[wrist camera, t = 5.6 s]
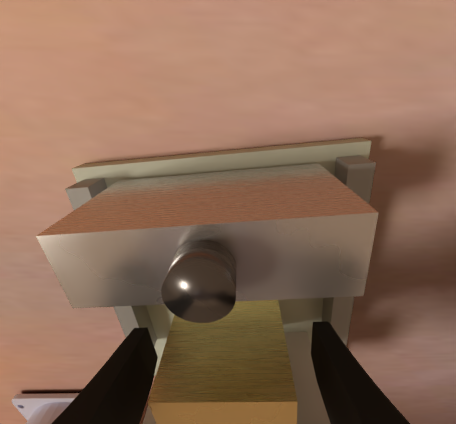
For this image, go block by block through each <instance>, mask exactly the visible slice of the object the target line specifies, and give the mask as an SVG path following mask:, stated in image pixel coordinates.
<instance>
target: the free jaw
mask: <svg viewBox="0 0 456 424" xmlns="http://www.w3.org/2000/svg"><path fill="white" fill-rule="evenodd" d="M378 214H379V212H378V211H376V210H375V209H374V208H373V207H371V206H370V205H369V204H368V203H367V202H365V201H364V200H363V199H362V198H360V197H359V196H358V195H357V194H355V193H354V192H353V191H352V190H351V189H349V188H348V187H347V186H346V185H344V184H343V183H342V182H341V181H340V180H338V179H337V178H336V177H335V176H333V175H332V174H331V173H330V172H328V171H327V170H326V169H325V168H324V167H322V166H321V165H320V164H319V163H316V164H305V165H293V166H282V167H270V168H259V169H247V170H236V171H224V172H213V173H201V174H190V175H178V176H166V177H155V178H143V179H132V180H120V181H117V182H116V183H114V184H113V185H111V186H110V187H108V188H107V189H105V190H104V191H102V192H101V193H99V194H98V195H96V196H95V197H93V198H92V199H90V200H89V201H87V202H86V203H85V204H83V205H82V206H80V207H79V208H77V209H76V210H74V211H73V212H71V213H70V214H68V215H67V216H65V217H64V218H62V219H61V220H59V221H58V222H56V223H55V224H53V225H52V226H50V227H49V228H47V229H46V230H44V231H43V232H41V233H40V234H38V235H37V236H36V237H37V239H38V241H39V243H40V245H41V247H42V249H43V251H44V253H45V255H46V257H47V259H48V261H49V263H50V265H51V267H52V269H53V271H54V272H55V274H56V276H57V278H58V280H59V282H60V284H61V286H62V288H63V290H64V292H65V294H66V296H67V298H68V300H69V302H70V304H71V306H72V308H91V307H115V306H139V305H162V304H165V305H166V307H167V308H168V309H169V310H170V311H171V312H172V313H173V314H174V315H176V316H177V317H179V318H181V319H184V320H186V321H190V322H194V323H209V322H214V321H217V320H220V319H222V318H223V317H225V316H226V315H228V314H229V313H230V312H231V310H232V309H233V307H234V305H235V301H258V300H282V299H305V298H329V297H353V296H364V291H365V285H366V280H367V274H368V269H369V263H370V258H371V252H372V247H373V241H374V236H375V230H376V225H377V219H378Z"/></svg>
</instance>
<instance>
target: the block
mask: <svg viewBox="0 0 456 424" xmlns="http://www.w3.org/2000/svg"><path fill="white" fill-rule="evenodd" d="M297 404H298V401H297V396H296V391H295V386H294V380H293V375H292V370H291V365H290V360H289V354H288V349H287V344H286V339H285V334H284V328H283V323H282V318H281V313H280V307H279V302H278V300H258V301H235V305H234V307H233V309H232V310H231V312H230V313H229V314H228V315H226V316H225V317H223V318H222V319H220V320H217V321H214V322H209V323H194V322H190V321H186V320H184V319H181V318H179V317H177V316H176V315H174V318H173V321H172V324H171V328H170V331H169V334H168V337H167V341H166V344H165V347H164V351H163V354H162V357H161V361H160V364H159V367H158V371H157V374H156V377H155V380H154V384H153V387H152V390H151V394H150V397H149V400H148V405H149V407H150V409H151V412H152V414H153V416H154V419H155V421H156V424H297Z"/></svg>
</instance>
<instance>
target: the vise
mask: <svg viewBox="0 0 456 424" xmlns="http://www.w3.org/2000/svg"><path fill="white" fill-rule="evenodd" d="M370 147H371V141H370V140H367V139H364V138H354V139H344V140H333V141H322V142H312V143H301V144H290V145H280V146H269V147H258V148H248V149H237V150H227V151H216V152H205V153H195V154H184V155H173V156H163V157H152V158H142V159H131V160H120V161H110V162H99V163H88V164H82V165H79V166H77V167H75V168H72V171H73V174H74V176H75V179H76V181H77V183H76V184H74V185H72V186H70V187H68V188H66V189H65V190H66V192H67V195H68V197H69V200H70V202H71V204H72V207H73V209H74V210H76V209H77V208H79V207H80V206H82V205H83V204H85V203H86V202H87V201H89V200H90V199H92V198H93V197H95V196H96V195H98V194H99V193H101V192H102V191H104V190H105V189H107V188H108V187H110V186H111V185H113V184H114V183H116V182H117V181H120V180H132V179H143V178H155V177H166V176H178V175H190V174H201V173H213V172H224V171H236V170H247V169H259V168H270V167H282V166H293V165H305V164H316V163H319V164H320V165H321V166H322V167H324V168H325V169H326V170H327V171H328V172H330V173H331V174H332V175H333V176H335V177H336V178H337V179H338V180H340V181H341V182H342V183H343V184H344V185H346V186H347V187H348V188H349V189H351V190H352V191H353V192H354V193H355V194H357V195H358V196H359V197H360V198H362V199H363V200H364V201H365V202H367V203H368V204H369V203H370V197H371V191H372V184H373V178H374V172H375V166H376V162H374V161H372V160H370V159H369V154H370ZM278 302H279V307H280V313H281V318H282V323H283V328H284V334H285V339H286V344H287V349H288V354H289V360H290V365H291V370H292V375H293V380H294V386H295V391H296V396H297V401H298V404H297V424H330V420H329V417H328V414H327V411H326V408H325V405H324V402H323V399H322V396H321V393H320V390H319V386H318V383H317V380H316V375H315V371H314V367H313V362H312V357H311V342H312V327H313V322H321V321H328V322H329V323H330V324H331V325H332V327H333V328H334V330H335V331H336V333H337V334H338V336H339V337H340V338H341V340H342V341H343V343H344V344H345V345H346V346H347V340H348V334H349V328H350V321H351V315H352V309H353V303H354V296H353V297H329V298H305V299H282V300H278ZM114 310H115V312H116V314H117V317H118V319H119V322H120V324H121V327H122V329H123V332H124V334H125V336H126V337H127V336H128V335H129V334H130V332H131V331H132V330H133V329H134V328H145V327H148V330H149V333H150V336H151V339H152V342H153V345H154V348H155V351H156V354H157V356H158V359H157V364H156V369H155V373H154V375H156V374H157V371H158V367H159V364H160V361H161V357H162V354H163V351H164V347H165V344H166V341H167V337H168V334H169V331H170V328H171V324H172V321H173V318H174V314H173V313H172V312H171V311H170V310H169V309H168V308H167V307H166V305H165V304H162V305H139V306H115V307H114ZM143 424H156V421H155V419H154V416H153V414H152V412H151V409H150V407H149V405H148V407H147V410H146V414H145V417H144V420H143Z"/></svg>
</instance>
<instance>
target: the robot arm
mask: <svg viewBox="0 0 456 424" xmlns="http://www.w3.org/2000/svg"><path fill="white" fill-rule="evenodd" d="M311 357H312V362H313V367H314V371H315V375H316V380H317V383H318V386H319V390H320V393H321V396H322V399H323V402H324V405H325V408H326V411H327V414H328V417H329V420H330V424H410V423H409V422H408V421H407V420H406V419H405V417H404V416H403V415H402V414H401V413H400V412H399V411H398V410H397V409H396V407H395V406H394V405H393V404H392V403H391V402H390V400H389V399H388V398H387V397H386V396H385V395H384V394H383V392H382V391H381V390H380V389H379V388H378V386H377V385H376V384H375V383H374V382H373V380H372V379H371V378H370V377H369V375H368V374H367V373H366V372H365V370H364V369H363V368H362V367H361V365H360V364H359V363H358V361H357V360H356V359H355V358H354V356H353V355H352V354H351V352H350V351H349V349H348V348H347V347H346V345H345V344H344V343H343V341H342V340H341V338H340V337H339V336H338V334H337V333H336V331H335V330H334V328H333V327H332V325H331V324H330V323H329V322H328V321H321V322H313V327H312V342H311ZM157 359H158V356H157V354H156V351H155V348H154V345H153V342H152V339H151V336H150V333H149V330H148V327H145V328H134V329H133V330H132V331H131V332H130V334H129V335H128V336H127V337H126V339H125V340H124V341H123V342H122V343H121V345H120V346H119V347H118V348H117V350H116V351H115V352H114V353H113V355H112V356H111V357H110V358H109V360H108V361H107V362H106V363H105V364H104V366H103V367H102V368H101V369H100V370H99V371H98V373H97V374H96V375H95V376H94V377H93V379H92V380H91V381H90V382H89V383H88V384H87V386H86V387H85V388H84V389H83V390H82V391H81V392H80V393H54V394H17V395H15V396H14V398H13V399H12V403H13V404H14V405H15V407H16V408H17V409H18V410H19V411H20V413H21V414H22V415H23V416H24V417H25V419H26V420H27V423H26V424H139V423H140V420H141V417H142V414H143V411H144V407H145V404H146V401H147V398H148V395H149V392H150V389H151V386H152V382H153V378H154V373H155V369H156V364H157Z"/></svg>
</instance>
